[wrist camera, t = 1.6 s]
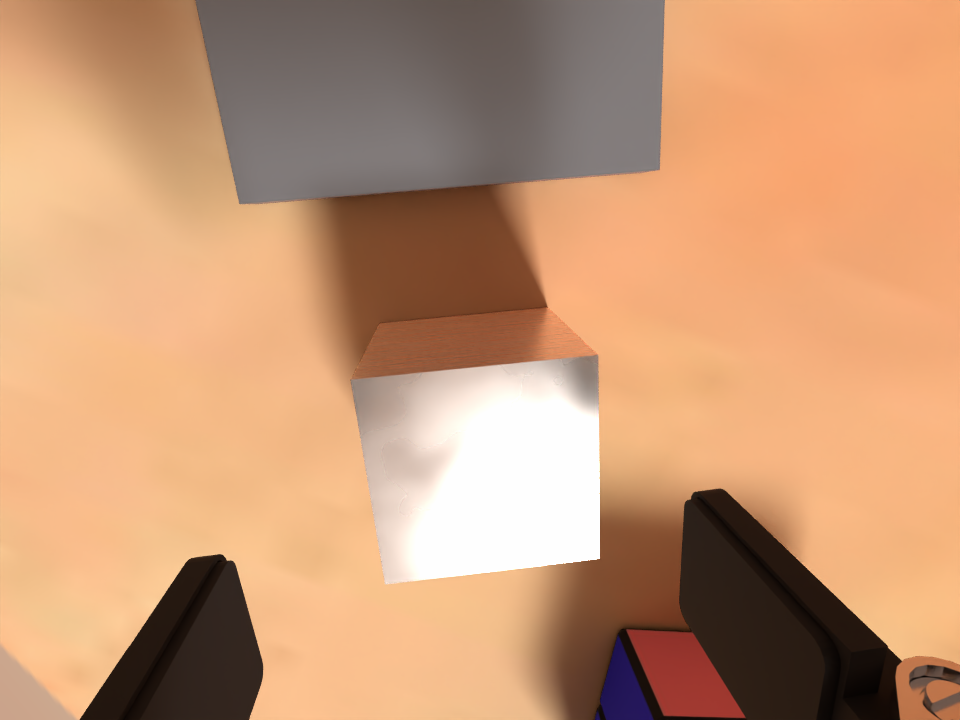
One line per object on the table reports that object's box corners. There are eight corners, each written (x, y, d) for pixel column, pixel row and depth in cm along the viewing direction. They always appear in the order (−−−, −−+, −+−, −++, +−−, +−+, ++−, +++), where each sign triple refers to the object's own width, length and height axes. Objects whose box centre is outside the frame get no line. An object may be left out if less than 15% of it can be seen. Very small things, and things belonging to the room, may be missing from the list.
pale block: (547, 307, 19) (598, 355, 13) (553, 456, 21) (599, 558, 15) (379, 323, 19) (350, 379, 13) (401, 473, 21) (385, 584, 15)
